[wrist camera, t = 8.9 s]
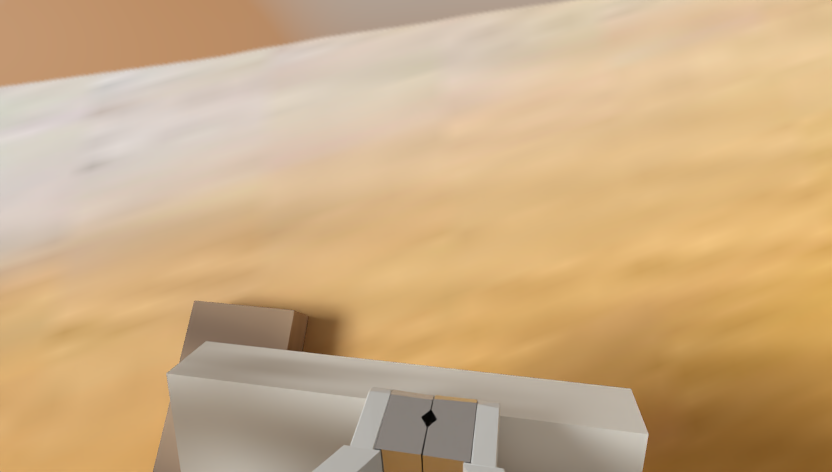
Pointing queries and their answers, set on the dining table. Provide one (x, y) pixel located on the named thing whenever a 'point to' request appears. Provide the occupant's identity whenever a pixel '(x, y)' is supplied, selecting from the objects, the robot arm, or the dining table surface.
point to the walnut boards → (231, 328)
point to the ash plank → (344, 400)
